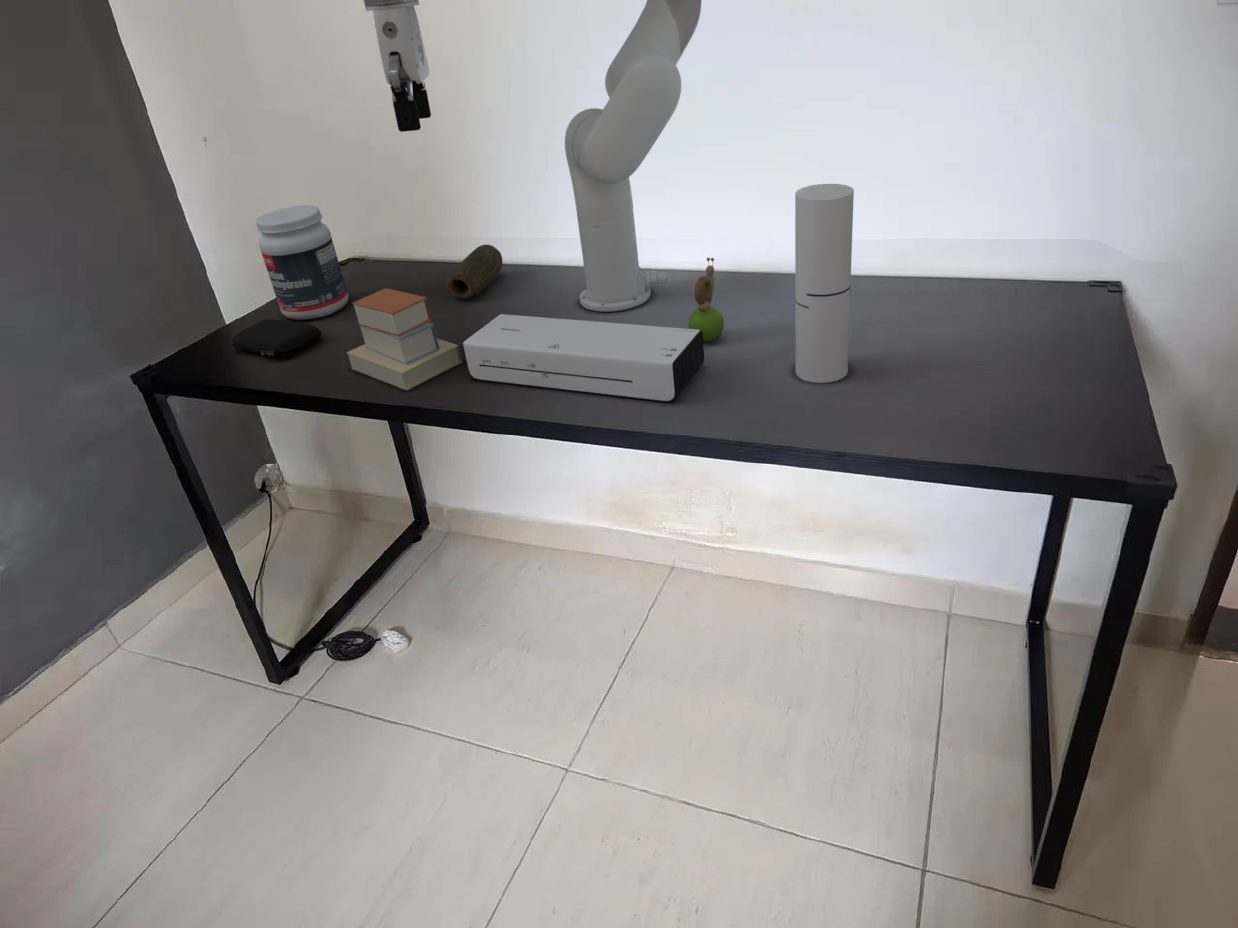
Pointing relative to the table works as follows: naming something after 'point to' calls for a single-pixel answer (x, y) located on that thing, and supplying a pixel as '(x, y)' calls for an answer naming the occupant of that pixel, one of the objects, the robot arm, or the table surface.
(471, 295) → the brown vase
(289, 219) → the supplement tub
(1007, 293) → the table surface
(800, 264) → the cylindrical container
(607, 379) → the laminator
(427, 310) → the terracotta book
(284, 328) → the carrying case
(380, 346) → the grey blue book
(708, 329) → the snail figurine
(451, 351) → the cream hardcover
